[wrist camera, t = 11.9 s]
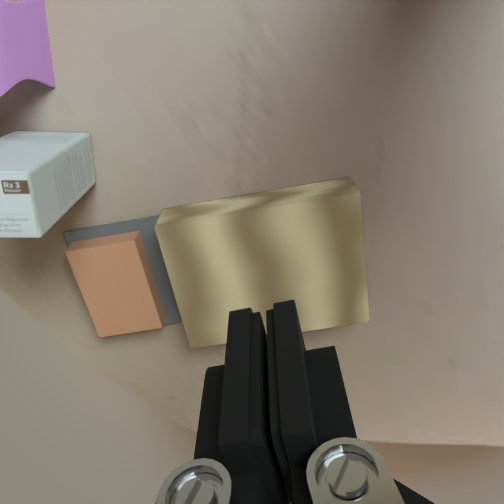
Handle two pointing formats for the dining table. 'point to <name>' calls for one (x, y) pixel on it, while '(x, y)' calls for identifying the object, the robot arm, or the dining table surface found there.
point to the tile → (117, 283)
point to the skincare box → (41, 179)
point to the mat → (152, 253)
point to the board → (267, 257)
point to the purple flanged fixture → (24, 44)
